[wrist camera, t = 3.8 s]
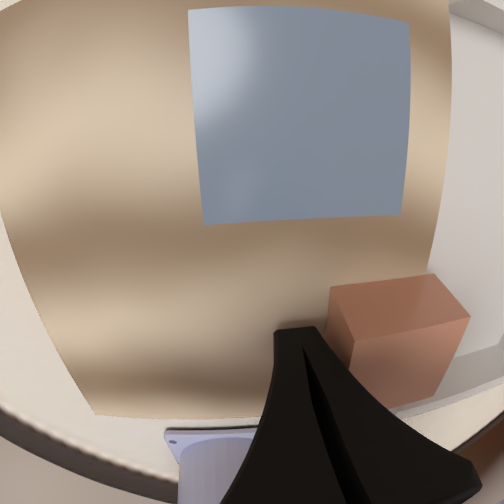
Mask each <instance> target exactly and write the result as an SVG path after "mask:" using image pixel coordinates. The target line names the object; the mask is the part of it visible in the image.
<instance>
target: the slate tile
mask: <svg viewBox="0 0 504 504" xmlns="http://www.w3.org/2000/svg"><path fill="white" fill-rule="evenodd" d="M188 23H189V46H190V65H191V82H192V97H193V112H194V125H195V137H196V149H197V161H198V171H199V182H200V192H201V202H202V211H203V221H204V225H213V224H227V223H242V222H258V221H275V220H292V219H311V218H332V217H355V216H381V215H400V213H401V206H402V198H403V190H404V182H405V173H406V163H407V151H408V138H409V121H410V94H411V57H410V31H409V23H408V22H404V21H399V20H394V19H390V18H385V17H379V16H374V15H368V14H362V13H355V12H348V11H341V10H332V9H322V8H310V7H293V6H234V7H217V8H205V9H194V10H188Z"/></svg>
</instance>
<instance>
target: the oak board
mask: <svg viewBox="0 0 504 504" xmlns="http://www.w3.org/2000/svg"><path fill="white" fill-rule="evenodd" d="M234 6H293V7H310V8H322V9H332V10H341V11H348V12H355V13H362V14H368V15H374V16H379V17H385V18H390V19H394V20H399V21H404V22H408V23H409V31H410V57H411V94H410V121H409V138H408V151H407V163H406V173H405V182H404V190H403V198H402V206H401V213H400V215H381V216H355V217H332V218H311V219H292V220H275V221H258V222H242V223H227V224H213V225H204V221H203V211H202V202H201V192H200V182H199V171H198V161H197V149H196V137H195V125H194V112H193V97H192V82H191V65H190V46H189V23H188V10H194V9H205V8H217V7H234ZM451 95H452V52H451V30H450V17H449V6H448V0H21V1H19V2H17V3H15V4H13V5H11V6H9V7H7V8H5V9H3V10H2V11H0V211H1V215H2V218H3V222H4V225H5V228H6V232H7V235H8V238H9V241H10V244H11V247H12V250H13V252H14V255H15V258H16V261H17V263H18V266H19V269H20V271H21V274H22V276H23V279H24V281H25V284H26V286H27V289H28V291H29V293H30V296H31V298H32V300H33V303H34V305H35V307H36V309H37V311H38V314H39V316H40V318H41V320H42V322H43V324H44V326H45V328H46V330H47V332H48V334H49V336H50V338H51V340H52V342H53V344H54V346H55V348H56V350H57V352H58V353H59V355H60V357H61V359H62V361H63V362H64V364H65V366H66V368H67V369H68V371H69V373H70V375H71V376H72V378H73V380H74V381H75V383H76V385H77V386H78V388H79V389H80V391H81V393H82V394H83V396H84V397H85V399H86V400H87V402H88V404H89V405H90V407H91V408H92V410H93V411H94V413H95V414H96V415H105V416H116V417H129V418H148V419H224V418H243V417H257V416H262V413H263V409H264V406H265V403H266V399H267V395H268V391H269V387H270V382H271V377H272V371H273V365H274V351H273V332H275V331H276V330H278V329H288V328H298V327H307V326H315V327H316V328H317V329H318V331H319V332H320V334H321V335H322V337H323V338H324V340H325V332H326V323H327V314H328V305H329V294H330V287H334V286H343V285H351V284H359V283H367V282H375V281H383V280H391V279H398V278H405V277H413V276H420V275H425V273H426V269H427V265H428V261H429V257H430V253H431V248H432V244H433V239H434V235H435V230H436V225H437V220H438V214H439V209H440V203H441V197H442V191H443V184H444V177H445V170H446V161H447V153H448V143H449V131H450V117H451Z"/></svg>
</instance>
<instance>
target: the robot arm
mask: <svg viewBox="0 0 504 504" xmlns="http://www.w3.org/2000/svg"><path fill="white" fill-rule="evenodd" d="M273 351H274V365H273V371H272V377H271V382H270V387H269V391H268V395H267V399H266V403H265V406H264V409H263V413H262V416H261V419H260V422H259V425H258V427H257V428H247V429H229V430H167V431H165V432H164V439H165V441H166V443H167V445H168V446H169V448H170V450H171V452H172V454H173V455H174V457H175V459H176V461H177V462H178V464H179V485H178V504H462V503H464V502H465V501H466V500H468V499H469V498H471V497H472V496H473V495H475V494H476V493H477V492H479V491H480V489H481V488H482V486H483V485H482V483H481V480H480V478H479V475H478V473H477V471H476V469H475V467H474V466H473V464H472V462H471V461H470V460H467V459H465V458H463V457H461V456H459V455H457V454H455V453H453V452H451V451H449V450H447V449H445V448H443V447H441V446H439V445H438V444H436V443H434V442H433V441H431V440H429V439H427V438H426V437H425V436H423V435H422V434H420V433H419V432H417V431H416V430H414V429H413V428H411V427H410V426H408V425H407V424H406V423H404V422H403V421H402V420H400V419H399V418H398V417H397V416H395V415H394V414H393V413H392V412H390V411H389V410H388V409H387V408H386V407H385V406H383V405H382V404H381V403H380V402H379V401H378V400H377V399H376V398H375V397H374V396H373V395H372V394H370V393H369V392H368V391H367V389H366V388H365V387H364V386H363V385H362V384H361V383H360V382H359V381H358V380H357V379H356V378H355V377H354V376H353V375H352V373H351V372H350V371H349V370H348V369H347V368H346V366H345V365H344V364H343V363H342V362H341V361H340V359H339V358H338V357H337V356H336V354H335V353H334V352H333V350H332V349H331V348H330V346H329V345H328V344H327V342H326V341H325V340H324V338H323V337H322V335H321V334H320V332H319V331H318V329H317V328H316V327H315V326H307V327H298V328H288V329H278V330H276V331H275V332H273ZM497 504H504V499H503V500H502V501H500V502H499V503H497Z"/></svg>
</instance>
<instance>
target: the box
mask: <svg viewBox="0 0 504 504" xmlns="http://www.w3.org/2000/svg"><path fill="white" fill-rule="evenodd" d="M448 6H449V17H450V30H451V52H452V95H451V117H450V131H449V143H448V153H447V161H446V170H445V177H444V184H443V191H442V197H441V203H440V209H439V214H438V220H437V225H436V230H435V235H434V239H433V244H432V248H431V253H430V257H429V261H428V265H427V269H426V273H425V275H427V274H433V273H434V274H435V275H436V276H437V277H438V278H439V280H440V281H441V282H442V283H443V284H444V285H445V286H446V288H447V289H448V290H449V291H450V292H451V293H452V294H453V296H454V297H455V298H456V299H457V300H458V301H459V303H460V304H461V305H462V306H463V307H464V309H465V310H466V311H467V312H468V313H469V315H470V316H471V318H470V320H469V323H468V325H467V328H466V330H465V332H464V335H463V337H462V339H461V342H460V344H459V346H458V348H457V350H456V353H455V355H454V357H453V359H452V361H451V363H450V365H449V367H448V369H447V371H446V373H445V375H444V377H443V379H442V381H441V383H440V385H439V387H438V389H437V390H436V392H435V394H434V396H432V397H429V398H426V399H423V400H419V401H416V402H413V403H409V404H406V405H402V406H399V407H395V408H391V409H388V410H389V411H390V412H392V413H393V414H394V415H395V416H397V417H398V418H399V419H404V418H408V417H411V416H414V415H418V414H421V413H424V412H428V411H431V410H434V409H437V408H440V407H443V406H446V405H449V404H452V403H455V402H457V401H460V400H463V399H465V398H468V397H471V396H473V395H476V394H478V393H481V392H483V391H486V390H488V389H490V388H493V387H495V386H497V385H500V384H502V383H504V0H448Z"/></svg>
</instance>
